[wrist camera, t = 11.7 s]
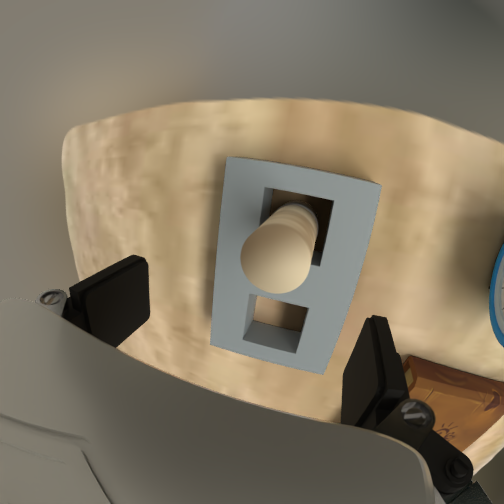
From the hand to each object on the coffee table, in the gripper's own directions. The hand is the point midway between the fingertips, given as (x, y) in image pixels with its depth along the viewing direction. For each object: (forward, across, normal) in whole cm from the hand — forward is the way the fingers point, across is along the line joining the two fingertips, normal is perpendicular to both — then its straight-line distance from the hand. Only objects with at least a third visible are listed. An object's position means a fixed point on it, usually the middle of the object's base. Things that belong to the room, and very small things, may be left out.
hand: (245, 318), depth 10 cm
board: (+18, 0, +4) cm, 18 cm away
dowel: (+17, 0, -1) cm, 17 cm away
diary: (+19, -27, +23) cm, 40 cm away
